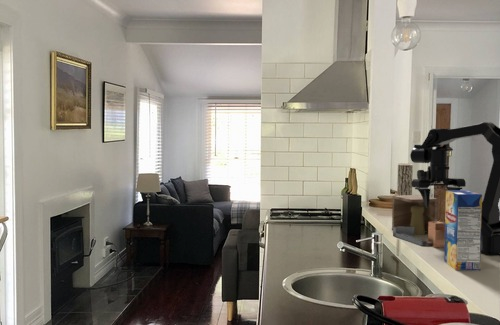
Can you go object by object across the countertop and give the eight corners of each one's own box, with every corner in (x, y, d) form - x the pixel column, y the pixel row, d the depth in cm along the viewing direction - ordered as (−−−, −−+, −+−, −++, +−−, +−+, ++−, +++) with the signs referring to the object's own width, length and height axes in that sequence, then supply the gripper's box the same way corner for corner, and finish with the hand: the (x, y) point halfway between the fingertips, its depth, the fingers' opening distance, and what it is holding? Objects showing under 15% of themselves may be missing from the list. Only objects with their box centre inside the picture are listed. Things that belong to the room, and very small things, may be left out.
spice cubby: (437, 234, 211) (437, 198, 210) (410, 235, 208) (411, 199, 207) (417, 228, 224) (417, 194, 223) (392, 229, 221) (392, 195, 220)
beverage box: (455, 270, 156) (457, 194, 155) (444, 261, 167) (445, 190, 166) (480, 270, 155) (482, 194, 154) (466, 261, 166) (468, 190, 165)
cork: (425, 234, 210) (426, 206, 210) (409, 234, 212) (410, 206, 211) (424, 231, 216) (424, 204, 216) (408, 231, 218) (408, 204, 217)
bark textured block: (393, 215, 259) (394, 163, 258) (404, 214, 262) (405, 163, 261) (403, 217, 253) (404, 164, 252) (414, 216, 256) (415, 164, 255)
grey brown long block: (451, 246, 188) (452, 223, 188) (428, 248, 186) (428, 225, 185) (414, 234, 210) (414, 214, 210) (392, 235, 208) (393, 215, 207)
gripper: (448, 162, 204) (448, 203, 204) (403, 163, 199) (403, 205, 200) (466, 163, 193) (466, 207, 193) (420, 164, 188) (419, 208, 189)
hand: (438, 206), depth 194 cm, fingers open, 9 cm apart
